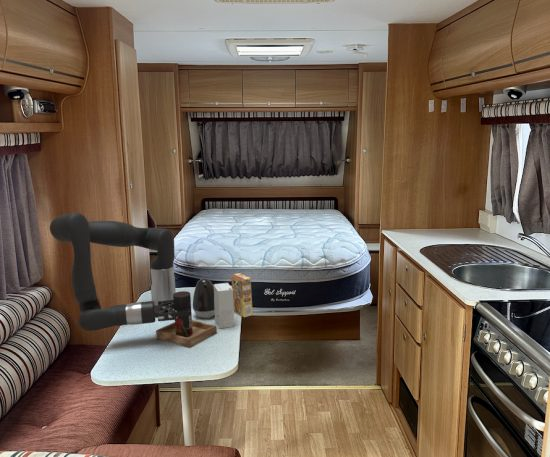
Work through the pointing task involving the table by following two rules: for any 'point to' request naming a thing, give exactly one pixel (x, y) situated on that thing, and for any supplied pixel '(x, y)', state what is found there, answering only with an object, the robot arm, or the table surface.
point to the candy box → (242, 294)
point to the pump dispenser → (204, 299)
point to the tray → (199, 334)
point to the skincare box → (224, 305)
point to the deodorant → (183, 322)
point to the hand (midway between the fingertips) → (188, 307)
